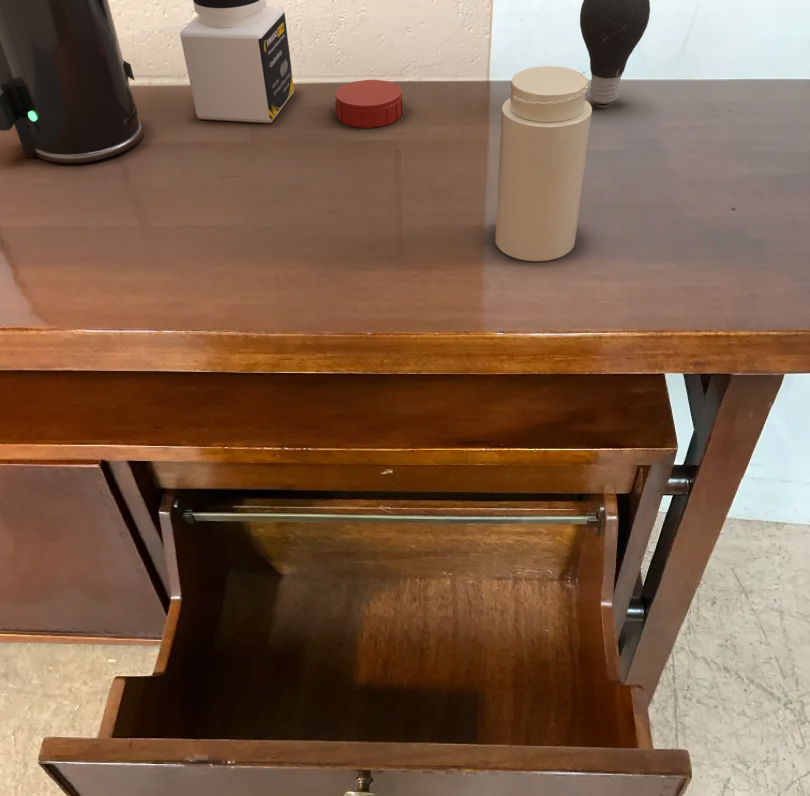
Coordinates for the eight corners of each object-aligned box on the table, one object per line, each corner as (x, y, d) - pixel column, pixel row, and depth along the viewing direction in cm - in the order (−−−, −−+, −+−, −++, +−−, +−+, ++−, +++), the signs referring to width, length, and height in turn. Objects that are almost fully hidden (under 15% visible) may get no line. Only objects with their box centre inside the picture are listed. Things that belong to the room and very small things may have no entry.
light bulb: (648, 107, 74) (671, -26, 66) (600, 124, 72) (619, -11, 64) (603, 88, 77) (621, -41, 69) (557, 103, 75) (569, -28, 67)
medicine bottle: (272, 124, 74) (249, -36, 65) (196, 120, 75) (163, -38, 66) (295, 92, 79) (276, -61, 70) (223, 89, 80) (196, -63, 71)
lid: (369, 96, 77) (368, 74, 76) (416, 112, 75) (415, 90, 73) (323, 116, 75) (321, 94, 73) (369, 134, 72) (368, 111, 71)
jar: (509, 267, 57) (520, 103, 49) (485, 227, 61) (491, 69, 53) (587, 254, 58) (610, 91, 50) (558, 216, 61) (575, 58, 53)
